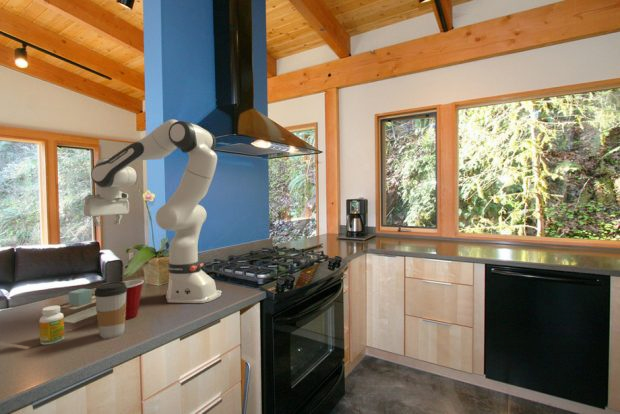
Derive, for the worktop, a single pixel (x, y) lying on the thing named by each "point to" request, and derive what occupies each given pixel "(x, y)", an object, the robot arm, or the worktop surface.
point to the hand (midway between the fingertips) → (108, 225)
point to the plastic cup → (133, 297)
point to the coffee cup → (111, 308)
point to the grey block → (81, 315)
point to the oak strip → (79, 306)
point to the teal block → (80, 297)
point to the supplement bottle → (51, 325)
